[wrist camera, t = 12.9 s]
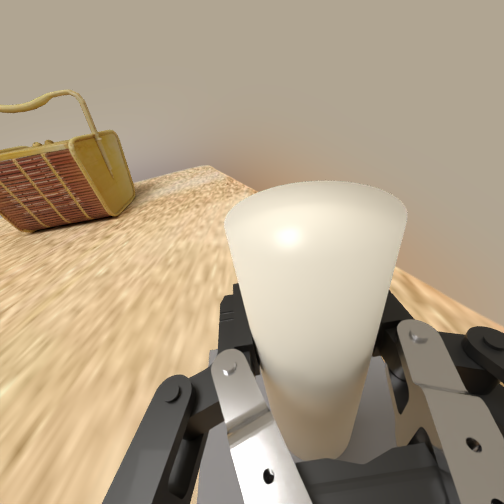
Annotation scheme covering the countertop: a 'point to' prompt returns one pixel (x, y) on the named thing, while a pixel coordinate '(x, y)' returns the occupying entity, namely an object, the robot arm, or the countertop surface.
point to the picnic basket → (63, 176)
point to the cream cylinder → (315, 299)
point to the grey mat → (358, 451)
